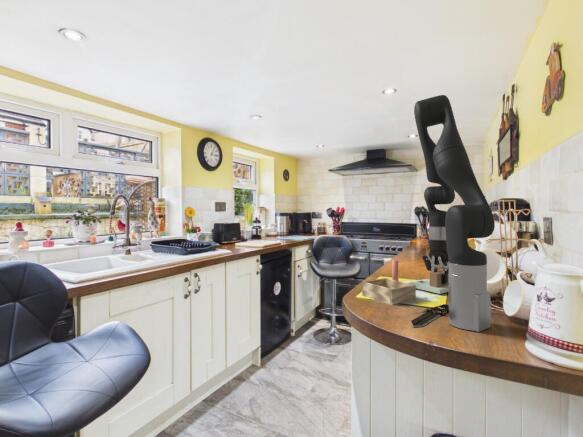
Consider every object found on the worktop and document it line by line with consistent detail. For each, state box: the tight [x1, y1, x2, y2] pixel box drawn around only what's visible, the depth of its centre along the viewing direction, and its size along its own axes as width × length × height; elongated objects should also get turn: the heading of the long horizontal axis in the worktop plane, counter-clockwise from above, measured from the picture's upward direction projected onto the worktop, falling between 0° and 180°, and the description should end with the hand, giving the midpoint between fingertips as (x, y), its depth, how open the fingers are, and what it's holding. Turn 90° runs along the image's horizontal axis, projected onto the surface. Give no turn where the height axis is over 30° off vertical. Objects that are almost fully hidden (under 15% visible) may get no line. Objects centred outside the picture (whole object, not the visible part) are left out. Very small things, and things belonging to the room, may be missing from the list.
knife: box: [410, 303, 449, 328], centre depth 94 cm, size 25×6×1 cm, turn 129°
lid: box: [407, 270, 449, 295], centre depth 122 cm, size 14×12×6 cm
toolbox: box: [361, 277, 417, 306], centre depth 111 cm, size 14×12×6 cm
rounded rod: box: [391, 259, 399, 281], centre depth 125 cm, size 2×2×12 cm
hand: (439, 283), depth 119 cm, fingers closed on lid, 3 cm apart
